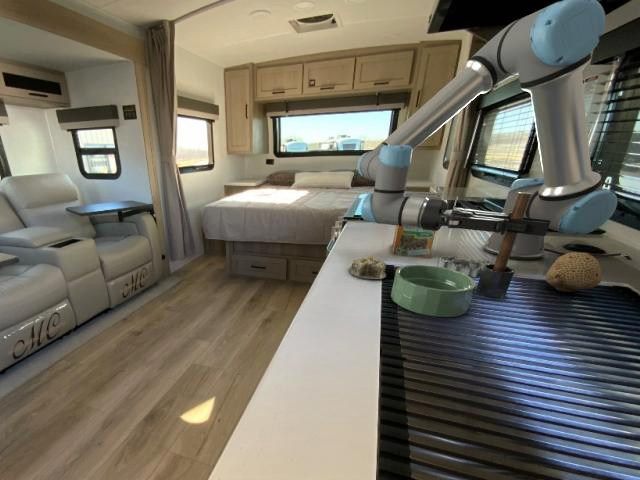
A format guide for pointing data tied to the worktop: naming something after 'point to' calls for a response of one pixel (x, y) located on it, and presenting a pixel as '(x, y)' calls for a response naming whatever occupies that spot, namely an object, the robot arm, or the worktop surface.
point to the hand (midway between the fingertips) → (547, 228)
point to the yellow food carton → (414, 234)
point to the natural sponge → (574, 272)
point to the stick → (510, 237)
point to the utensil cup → (494, 282)
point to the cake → (368, 268)
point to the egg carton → (463, 265)
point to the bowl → (432, 290)
